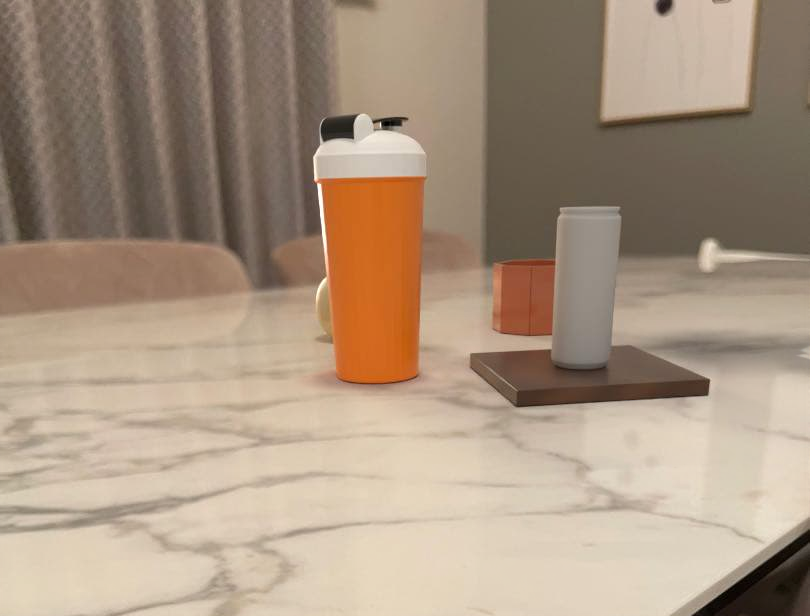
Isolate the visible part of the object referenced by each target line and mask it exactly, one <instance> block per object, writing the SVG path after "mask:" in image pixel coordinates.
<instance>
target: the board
mask: <svg viewBox="0 0 810 616" xmlns="http://www.w3.org/2000/svg"><path fill="white" fill-rule="evenodd" d="M551 349H552V348H547V349H527V350H508V351H507V350H506V351H491V352H490V351H486V352H471V353H470V354H469V367H470V368H471V369H472V370H474V371H475V372H476V373H477V374H478V375H479V376H481V377H482V378H483V379H484V380H486V381H487V382H488V383H489V384H490V385H491V386H492V387H493V388H495V390H497V391H498V392H499V393H500V394H502V395H503V396H504V397H505V398H506V399H508V400H509V401H510V402H511V403H512V404H513V405H514V406H515V407H527V406H530V407H531V406H547V405H562V404H577V403H594V402H595V403H596V402H612V401H613V402H614V401H628V400H629V401H630V400H644V399H661V398H662V399H663V398H676V397H695V396H708V395H710V386H711V379H710V378H709V377H706V376H703V375H702V374H699V373H697V372H694V371H691V370H690V369H687V368H685V367H682V366H680V365H678V364H675V363H673V362H671V361H668V360H666V359H664V358H662V357H659V356H657V355H654V354H652V353H650V352H647V351H645V350H643V349H640V348H638V347H636V346H634V345H631V344H625V345H623V344H622V345H611V354H610V360H609V361H608V363H607V365H606V366H604V367H602V368H598V369H589V370H576V369H566V368H561V367H558V366H557V365H555V363H554V362H553V360H552V359H551Z"/></svg>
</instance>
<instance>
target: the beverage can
mask: <svg viewBox="0 0 810 616" xmlns="http://www.w3.org/2000/svg"><path fill="white" fill-rule="evenodd" d="M620 210H621V206H609V205H608V206H607V205H606V206H605V205H604V206H600V205H599V206H567V207H566V206H564V207H559V212H560V214H559V215H558V217H557V222H556V245H555V260H556V262H555V284H554V306H553V327H552V334H551V348H550V349H551V359H552V360H553V362H554V363H555V365H557V366H558V367H561V368H566V369H576V370H589V369H598V368H602V367H604V366H606V365H607V363H608V361H609V360H610V354H611V346H612V339H613V325H614V324H613V323H614V311H615V298H616V296H615V295H616V287H617V275H618V274H617V273H618V265H619V254H620V253H619V252H620V242H621V241H620V240H621V230H622V229H621V228H622V216H621V214H620V213H619V212H620Z"/></svg>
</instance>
